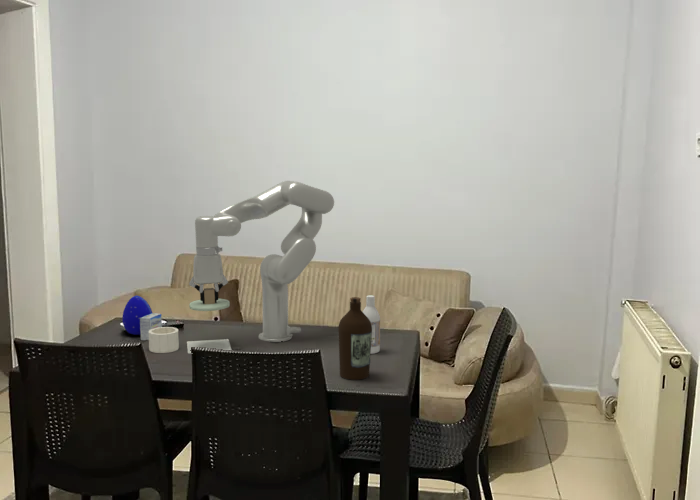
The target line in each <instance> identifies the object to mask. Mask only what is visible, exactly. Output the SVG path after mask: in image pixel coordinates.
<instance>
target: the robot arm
mask: <svg viewBox="0 0 700 500" xmlns="http://www.w3.org/2000/svg"><path fill="white" fill-rule="evenodd" d="M290 205H291V206H292V205H293V206H296V207H298V208H299V207H300V208H301V216H300V218H299V220H298V221H297V222H296V224H295V225H294V226H293V228H292V229H291V230H290V231H289V232H288V234H286V236H285V237H284V239H283V240H282V241H281V244H280V250H281V252H282V254H283V256H282V255H280V254H269V255H266V256H265V257H264V258H263V259H262V261H261V262H260V266H259V267H260V268H259V270H260V271H259V272H260V279H261V289H262V292H261V293H262V332H260V333H259V334H258V339H259V340H261V341H265V342H269V343H282V342H281V341H283V342H287V341H289V340H291V339H293V333H294V334H296V333H297V334H300V333H301V331H302V329H301V327H297V326H290V325H289V288H288V285H289V284H291V283H293V282H294V281H296V279H298V277H299V276H300V275H301V274H302V273H303V271H304V270H305V269H306V268H307V267H308V265H309V264H310V263H311V261H312V260H313V259H314V257H315V256H316V251H317V245H316V242H315V240H314V238H315V237H317V235H318V234H319V232H320V230H321V227H322V224H323V215H326V214H329V212H331V211H332V210H333V209H334V206H335V199H334V196H333V195H332V194H331V193H330V192H328V191H327V190H323V189H321V188H317V187H314V186H311V185H308V184H305V183H303V182H299V181H294V180H284V181H282V182H279V183H278V184H276V185H274V186H272V187H270V188H268V189H266V190H265V191H263V192H261V193H259V194H257V195H255V196H253V197H250V198H247V199H244V200H242V201H240V202H236V203H234V204H232V205H231V206H228V207H227V208H224V209H223V210H221V211H219V212H217V213H216V214H215V215H213V216H212V215H202V216H197V217H196V218H195V220H194V227H195V228H194V229H195V248H196V249H195V251H196V252H195V255H194V256H193V266H192V267H193V269H192V270H193V271H192V274H193V276H192V277H191V279H190V281H189V282H188V283H189V284H188V285H189V286H190V287H192V288H194V289H196V290H197V291H198V292H199V297H200V299H199V300H201V301H202V302H203V304H204V303H205V298H204V285H210V284H214V294H215V303H217V300H218V299H219V291H220V290H221V289H222V288H223V287H224V286H226V285H227V284H229V280H228V279H227V278H226V276H225V275H224V270H223V262H222V257H221V254H220V253H221V252H223V247H221V246H220V247H219V241H218V240H219V238H218V237H234V236H236V235H237V234H240V233H239V232H240V231H241V230H242V223H245V222H247V221H252V220H260V219H264V218H267V217H269V216H271V215H273V214H274V213H277V212H278V211H279V210H282V209H283V208H286V207H287V206H290Z"/></svg>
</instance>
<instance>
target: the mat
mask: <svg viewBox="0 0 700 500" xmlns="http://www.w3.org/2000/svg"><path fill="white" fill-rule="evenodd" d="M186 344H187V345H186V346H187V347H186V348H187V354H192V353H191V351H190V350H191V347H206V348H216V349H223V350H232V351H233V349H232V347H231V343H230V340H229V339H228V338H226V339H225V338H224V339H208V340H206V339H205V340H194V341H193V340H190V341H189V340H188V341H186Z"/></svg>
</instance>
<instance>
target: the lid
mask: <svg viewBox="0 0 700 500" xmlns="http://www.w3.org/2000/svg"><path fill="white" fill-rule="evenodd" d="M214 289H215V287H207V288H205V287H203V290H204V298H205V303H204V304H203V302H202V301H201V300H200V299H197V300H194V301H190V303H189V309H191V310H192V311H197V312H214V311H219V310H220V311H221V310H224V309H227V308H229V307H230V306H231V305H230V304H231V303H230V300H228V299H224V298H218V300H217V303H215V294H214Z"/></svg>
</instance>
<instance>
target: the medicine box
mask: <svg viewBox="0 0 700 500" xmlns="http://www.w3.org/2000/svg"><path fill="white" fill-rule="evenodd" d="M162 321H163V319H162V314H161V313H156V312H154V313H153V312H152V313H151V314H149V315H146V316H144V317H141V318H140V331H141V335H140V340H141V341H146V340H147V341H149V330H151V329H154V328H159V327H163V325H162V324H163V323H162Z"/></svg>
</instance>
